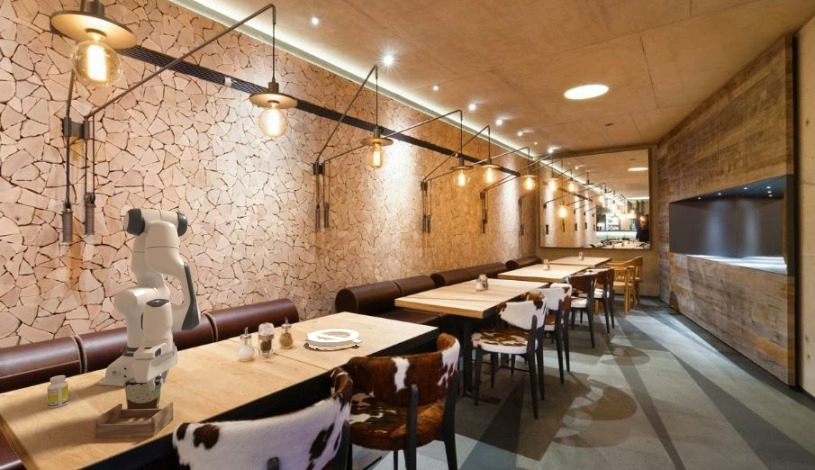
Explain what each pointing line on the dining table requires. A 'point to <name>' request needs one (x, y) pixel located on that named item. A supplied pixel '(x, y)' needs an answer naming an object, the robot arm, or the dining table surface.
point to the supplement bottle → (57, 392)
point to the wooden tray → (132, 422)
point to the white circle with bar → (333, 338)
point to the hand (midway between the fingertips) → (158, 386)
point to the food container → (142, 394)
